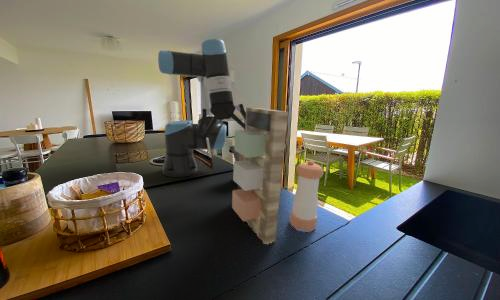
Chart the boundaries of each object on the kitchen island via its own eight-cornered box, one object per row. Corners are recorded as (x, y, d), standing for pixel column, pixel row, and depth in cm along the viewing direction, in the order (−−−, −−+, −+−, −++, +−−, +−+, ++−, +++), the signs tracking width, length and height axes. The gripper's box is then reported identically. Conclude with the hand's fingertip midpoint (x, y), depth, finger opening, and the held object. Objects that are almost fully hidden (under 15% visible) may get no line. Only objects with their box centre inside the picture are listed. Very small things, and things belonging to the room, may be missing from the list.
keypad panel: (238, 215, 61) (244, 107, 53) (249, 213, 63) (256, 107, 55) (262, 245, 49) (274, 111, 41) (275, 241, 51) (288, 111, 43)
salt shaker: (314, 235, 54) (325, 167, 50) (287, 228, 56) (295, 162, 52) (316, 221, 61) (325, 159, 56) (291, 215, 63) (298, 155, 59)
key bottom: (232, 207, 55) (232, 190, 54) (248, 204, 57) (249, 187, 56) (243, 221, 49) (244, 202, 48) (261, 217, 51) (262, 198, 50)
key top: (234, 150, 51) (235, 130, 50) (251, 149, 53) (252, 130, 52) (246, 157, 45) (247, 135, 44) (265, 155, 47) (267, 134, 46)
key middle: (233, 179, 53) (233, 161, 52) (250, 177, 55) (251, 159, 54) (244, 190, 47) (245, 170, 46) (263, 187, 49) (264, 168, 48)
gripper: (180, 94, 61) (193, 162, 66) (259, 86, 67) (266, 148, 71) (182, 96, 68) (193, 157, 73) (253, 88, 74) (259, 145, 78)
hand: (229, 153), depth 72 cm, fingers open, 13 cm apart
